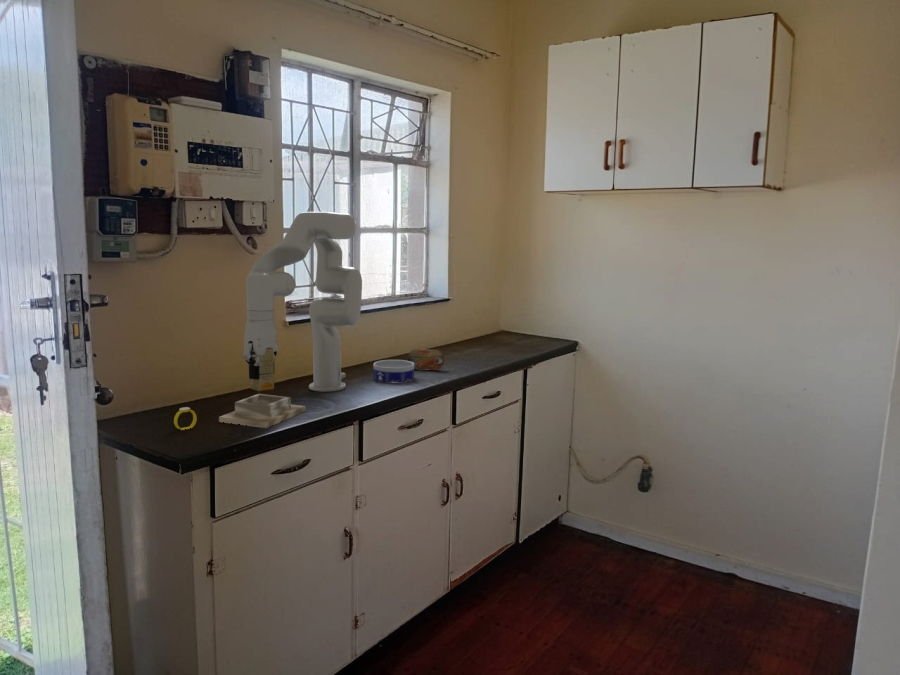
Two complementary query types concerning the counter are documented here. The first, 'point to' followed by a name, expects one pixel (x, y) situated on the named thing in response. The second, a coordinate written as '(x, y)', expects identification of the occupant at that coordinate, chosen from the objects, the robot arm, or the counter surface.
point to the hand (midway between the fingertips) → (262, 376)
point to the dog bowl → (393, 371)
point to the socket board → (262, 411)
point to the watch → (185, 409)
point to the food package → (426, 359)
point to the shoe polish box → (264, 372)
